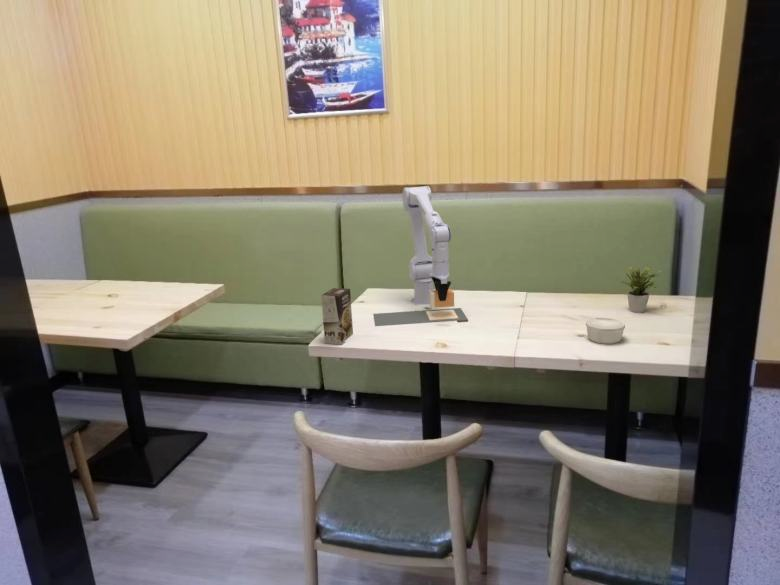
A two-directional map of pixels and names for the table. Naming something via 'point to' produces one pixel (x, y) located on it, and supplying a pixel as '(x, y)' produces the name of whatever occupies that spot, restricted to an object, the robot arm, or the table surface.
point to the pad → (441, 315)
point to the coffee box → (337, 315)
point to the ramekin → (605, 330)
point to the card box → (437, 303)
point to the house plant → (639, 289)
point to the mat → (413, 317)
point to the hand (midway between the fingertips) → (441, 298)
